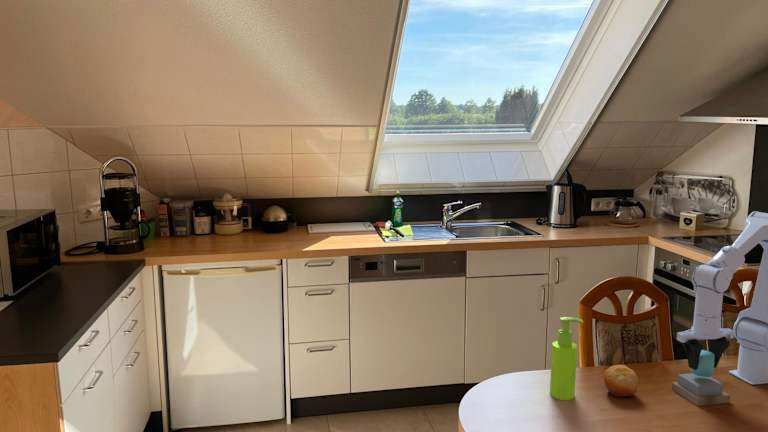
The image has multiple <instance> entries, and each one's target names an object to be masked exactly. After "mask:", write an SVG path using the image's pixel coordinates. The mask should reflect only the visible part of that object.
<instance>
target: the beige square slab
mask: <svg viewBox="0 0 768 432" xmlns="http://www.w3.org/2000/svg"><path fill="white" fill-rule="evenodd" d="M677 383H678V381H672V382H671V384H672V385H671V390H672V391H674V392H675V393H677V394H678V395H680V396H681V397H683V398H685V399H686V400H687V401H689V402H690V403H692V404H694V405H695V406H697V407H699V406H700V407H701V406H708V405H709V406H710V405H716V404H717V405H718V404H727V403H730V400H731V394H729V393H728V392H725V391H724V390H723V392H722V394H716V395H706V396H696V395H694V394H693V393H691V392H690V391H688V390H686V389H685V388H683V387H682V386H680V385H679V384H677Z"/></svg>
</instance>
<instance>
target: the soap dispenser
mask: <svg viewBox="0 0 768 432" xmlns="http://www.w3.org/2000/svg"><path fill="white" fill-rule="evenodd" d="M559 322H561V328H560V329H558V331H557V340H555V341H553V342H552V344H551V358H550V359H551V362H550V363H551V364H550V383H549V395H550V396H551V397H552V398H554V399H556V400H559V401H570V400H571V401H572V400H573V399H574V398H575V391H576V390H575V389H576V378H577V375H576V373H577V357H578V345H577V344H576V343H574V342H573V330H571V329H570V323H578V324H583V323H584V320H583V319H581V318H579V317H575V316H572V317H571V316H560V317H559Z"/></svg>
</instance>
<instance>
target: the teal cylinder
mask: <svg viewBox="0 0 768 432" xmlns="http://www.w3.org/2000/svg"><path fill="white" fill-rule="evenodd" d="M714 360H715V354H714V353H712V352H709V351H708V350H705V349H702V351H701V353H700V356H699V362H698V368H697V370H693V369H692V368H689V369H690V373H693V374H695V375H698V376H702V377H713V376H714V370H715V368H714Z"/></svg>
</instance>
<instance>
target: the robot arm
mask: <svg viewBox="0 0 768 432" xmlns="http://www.w3.org/2000/svg"><path fill="white" fill-rule="evenodd" d="M758 244H759V245H760V246H761V247H762V248H763V252H762V256H761V260H760V265H759V270H758V274H757V279H756V282H755V287H754V290H753V295H752V299H751V303H750V307H748V308H745V309H743V310H741V311H739V313H738V317H736V318H737V319H736V321H735V322H734V324H733V327H732V329H731V328H729V327H727V328H723V327H721V320H722V312H723V311H722V309H723V301H724V300H723V299H724V292H725V291H727V290H728V288H729V287H730V284H731V280H732V279H733V278H734V275H735V273H736V272H737V271H738V270H739V268H741V267H742V265H743V264H744V263H745V261H746V257H745V255H746V254H748V253H749V252H750V251H751V250H752V249H753V248H755V247H756V246H757V245H758ZM692 273H693V274H692V275H691V283H692V285H693V293H694V294H695V301H694V312H693V322H692V323H693V324H692V326H691V328H689V329H687V330H684V331H679V332H676V340H677V341H678V342H680V343H681V344H682V347H683V349H684V351H685V354H686V357H687V364H688V367H689V369H691V368H692V369H693V370H697V368H698V362H699V356H700V353H701V351H702V350H704V349H703V348H704V345H701V344H700V342H699V341H705V340H706V342H707V351H709V352H712V353H714V354H715V360H714V369H717V367H718V364H719V362H720V360H721V358H722V355H723V354H724V353H725V352H726V350H727V349H728V348H729V347H730V346H731V345H730V344H731V342H730V340H728V339H734V338H735V339H736V340H737V343H738V344H739V349H738V359H737V369H732V370H729V371H728V373H729V374H731V375H732V376H735V377H736V378H738V379H741V381H744V382H746V383H748V384H750V385H763V384H768V213H767V212H761V211H758V210H757V211H756V210H755V211H752V212H751V213H750V214H749V215H748V216H747V218H746V219H745V222H744V229H743V231H741V233H740V234H739V235H738V237H737V238H736V239H735V241H734V242H733V243H732V244H731V245H727V246H723V247H722V248H721V249H720V250H719V251H717V253H716V254H715V255H714V256H713V257H712V258H711V259H710V260H709V261H708V262H707V263H705V264H700V265H698V266H696V268H695V269H694V271H693V272H692ZM727 338H728V339H727Z"/></svg>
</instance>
